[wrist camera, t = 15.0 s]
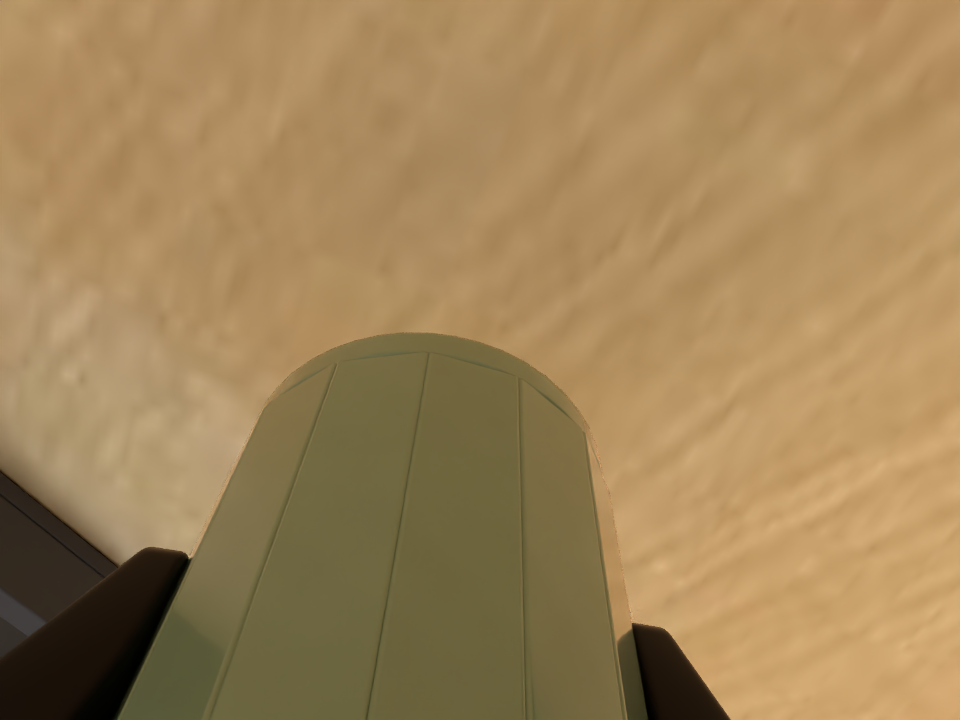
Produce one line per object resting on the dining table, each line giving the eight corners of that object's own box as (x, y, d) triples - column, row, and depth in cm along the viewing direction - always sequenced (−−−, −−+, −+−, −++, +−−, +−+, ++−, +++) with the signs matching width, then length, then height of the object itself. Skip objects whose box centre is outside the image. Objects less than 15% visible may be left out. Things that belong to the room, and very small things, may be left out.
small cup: (667, 523, 10) (866, 1314, 4) (390, 647, 11) (276, 1368, 6) (473, 257, 8) (402, 1033, 3) (170, 444, 10) (-292, 1207, 4)
